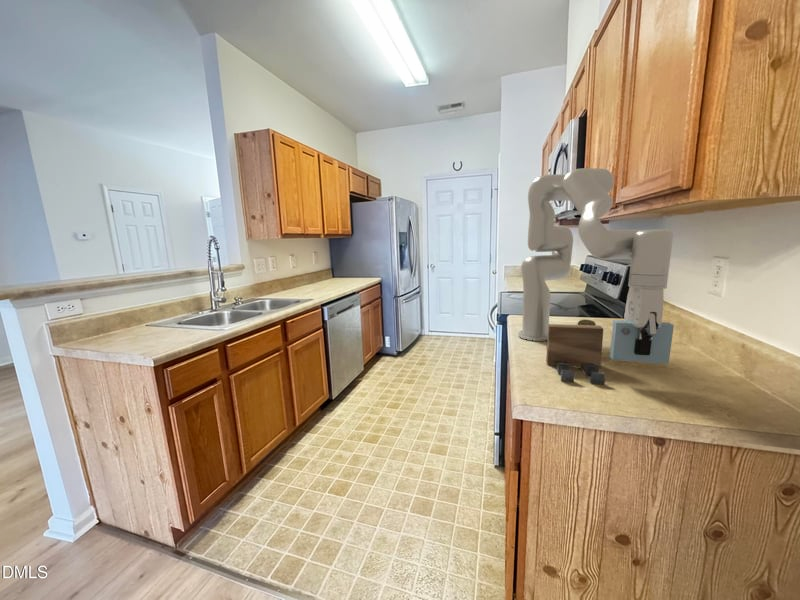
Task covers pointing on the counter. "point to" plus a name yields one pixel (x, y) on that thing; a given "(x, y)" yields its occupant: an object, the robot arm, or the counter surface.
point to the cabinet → (574, 344)
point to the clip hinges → (588, 369)
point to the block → (628, 334)
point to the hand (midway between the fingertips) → (639, 351)
